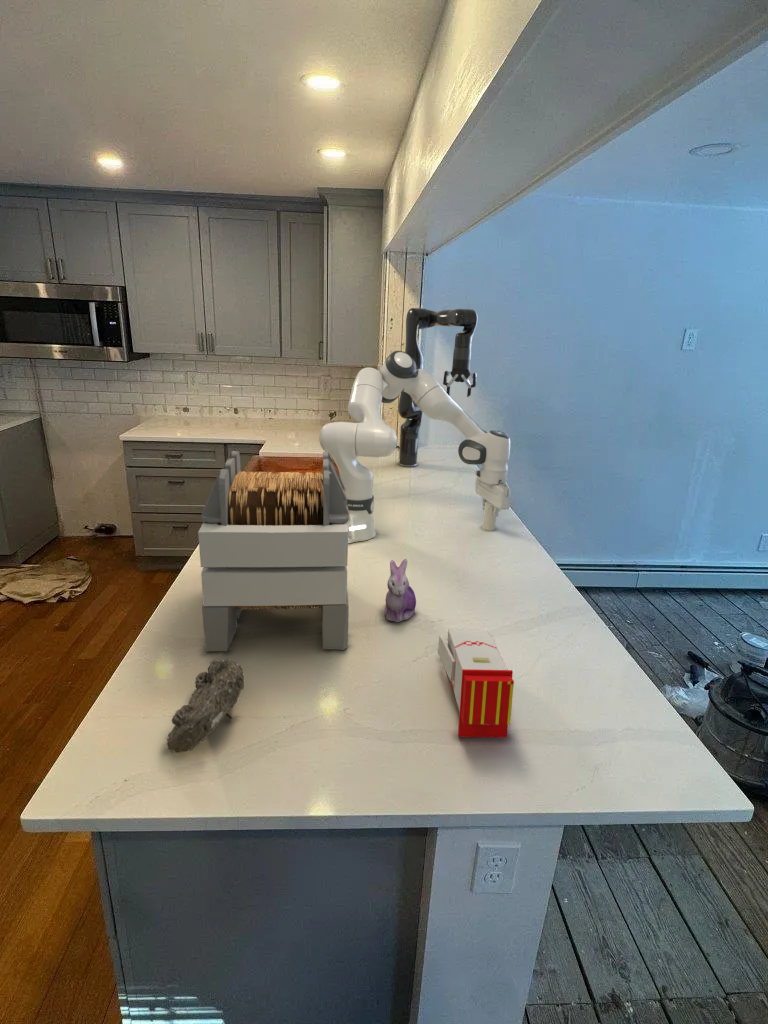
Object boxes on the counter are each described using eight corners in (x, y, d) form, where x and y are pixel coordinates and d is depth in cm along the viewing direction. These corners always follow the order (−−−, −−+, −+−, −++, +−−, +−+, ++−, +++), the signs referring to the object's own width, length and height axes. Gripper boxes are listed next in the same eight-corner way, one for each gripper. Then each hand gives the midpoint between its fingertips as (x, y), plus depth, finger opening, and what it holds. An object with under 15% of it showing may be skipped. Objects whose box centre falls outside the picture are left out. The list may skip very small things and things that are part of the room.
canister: (480, 529, 208) (483, 503, 205) (484, 525, 212) (487, 500, 208) (492, 531, 206) (495, 506, 203) (496, 527, 210) (499, 503, 206)
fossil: (192, 660, 117) (244, 628, 112) (224, 691, 120) (276, 661, 115) (142, 746, 98) (202, 712, 93) (182, 779, 101) (242, 748, 96)
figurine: (392, 627, 141) (395, 572, 136) (374, 608, 149) (376, 556, 144) (425, 619, 145) (429, 566, 140) (405, 601, 154) (408, 550, 149)
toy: (488, 613, 130) (523, 677, 101) (484, 667, 133) (517, 744, 104) (435, 612, 130) (455, 676, 101) (432, 666, 133) (451, 743, 103)
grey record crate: (225, 584, 158) (217, 441, 145) (342, 583, 162) (345, 443, 148) (202, 654, 127) (189, 479, 113) (348, 650, 131) (352, 481, 117)
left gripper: (517, 484, 194) (512, 522, 198) (489, 468, 212) (485, 503, 216) (500, 485, 192) (496, 523, 196) (473, 469, 210) (470, 504, 215)
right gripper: (444, 357, 243) (441, 395, 248) (477, 359, 239) (473, 398, 245) (446, 356, 249) (443, 393, 255) (479, 358, 246) (475, 396, 252)
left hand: (490, 513), depth 207 cm, fingers open, 6 cm apart
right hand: (458, 395), depth 250 cm, fingers open, 8 cm apart
